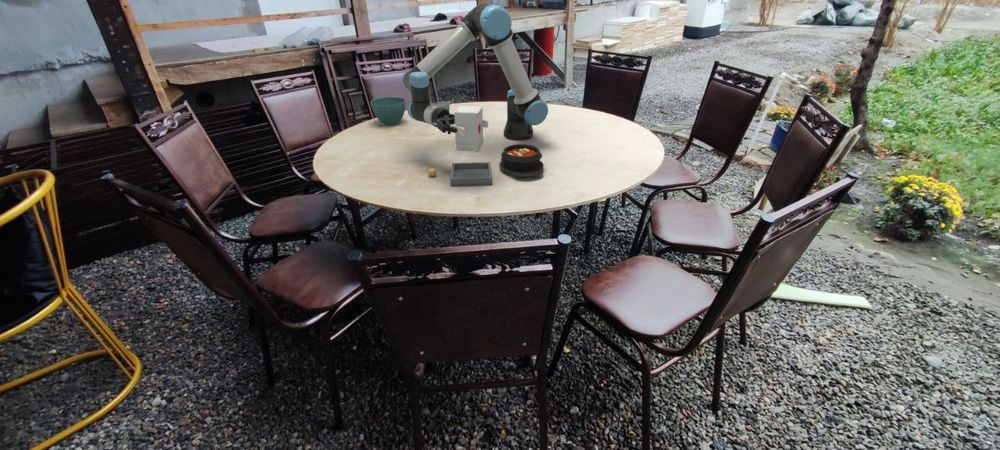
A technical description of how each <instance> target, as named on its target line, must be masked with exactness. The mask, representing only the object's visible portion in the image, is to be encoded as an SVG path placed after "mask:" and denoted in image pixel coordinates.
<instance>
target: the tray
mask: <svg viewBox="0 0 1000 450" xmlns="http://www.w3.org/2000/svg"><path fill="white" fill-rule="evenodd" d="M463 186H464V187H468V186H471V187H472V186H473V187H475V186H493V176H492V164H491V161H482V162H480V161H479V162H476V161H475V162H473V161H472V162H452V163H451V170H450V187H463Z"/></svg>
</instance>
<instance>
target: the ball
mask: <svg viewBox="0 0 1000 450" xmlns="http://www.w3.org/2000/svg"><path fill="white" fill-rule="evenodd" d="M436 174H437V171H436V169H434V168H429V169H428V170H427V175H428V176H429V177H434V176H436Z"/></svg>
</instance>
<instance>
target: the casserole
mask: <svg viewBox="0 0 1000 450" xmlns="http://www.w3.org/2000/svg"><path fill="white" fill-rule="evenodd" d="M500 155H501V159H500V162H499V167H500V169H501V170H503V171H505V172H507V173H510V174H512V175H514V176H515V177H518V178H519V177H520V178H531V177H536V176H540V175H542V174H544V170H543V168H544V163H543V161H542V160H541V159H542V158H543V154H542V152H541V149H540V148H539V147H537V146H535V145H532V144H526V143H525V144H524V143H520V144H519V143H518V144H516V143H515V144H511V145H508V146H506V147H504V149H503V151H502V152H501V154H500Z"/></svg>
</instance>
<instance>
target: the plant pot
mask: <svg viewBox="0 0 1000 450" xmlns="http://www.w3.org/2000/svg"><path fill="white" fill-rule="evenodd" d="M370 106H371V109H372V111H373V113H374V116H375V117H376V118H377V119H378V121H379V122H380V123H381V124H383V125H384V126H396V125H398V124H400V122H401V121H402V120H403V117H404V115H405V111H406V99H405V98H403V97H395V96H389V97H388V96H387V97H386V96H385V97H379V98H375V99H373V100H371V101H370Z"/></svg>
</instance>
